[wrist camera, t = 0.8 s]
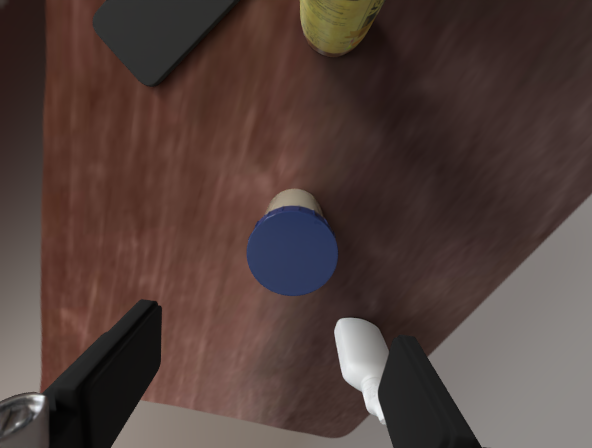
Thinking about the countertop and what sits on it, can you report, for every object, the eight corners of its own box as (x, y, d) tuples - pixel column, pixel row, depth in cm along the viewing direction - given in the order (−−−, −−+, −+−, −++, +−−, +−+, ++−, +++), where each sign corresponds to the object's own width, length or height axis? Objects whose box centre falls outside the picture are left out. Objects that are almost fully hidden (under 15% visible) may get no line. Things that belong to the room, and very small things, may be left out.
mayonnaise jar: (303, 178, 29) (306, 197, 19) (332, 224, 31) (348, 265, 21) (256, 207, 30) (234, 240, 20) (286, 251, 32) (280, 302, 22)
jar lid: (306, 187, 20) (307, 192, 19) (350, 259, 22) (355, 270, 20) (233, 232, 22) (227, 241, 20) (280, 298, 23) (278, 311, 21)
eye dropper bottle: (358, 352, 36) (387, 451, 24) (328, 326, 35) (343, 417, 23) (384, 331, 35) (425, 424, 23) (353, 305, 34) (382, 388, 22)
